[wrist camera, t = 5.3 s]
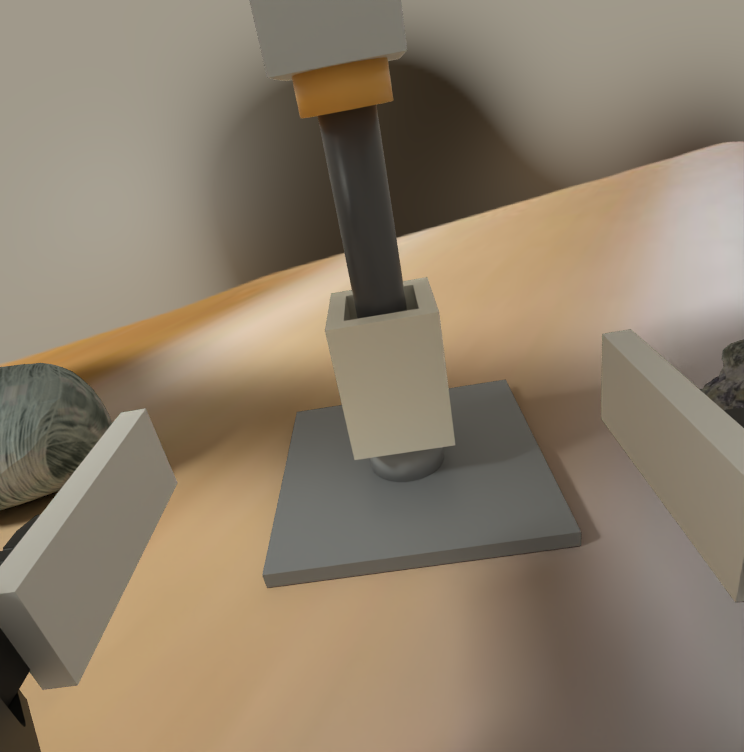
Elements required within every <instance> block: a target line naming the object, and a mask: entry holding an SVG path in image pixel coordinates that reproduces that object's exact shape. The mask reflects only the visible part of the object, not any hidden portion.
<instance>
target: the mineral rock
mask: <svg viewBox="0 0 744 752" xmlns="http://www.w3.org/2000/svg"><path fill="white" fill-rule="evenodd" d="M722 360H723V366H724V367H723V369H722V371H721V373H720V375H719V376H718V377H716V378H715V379H713V380H712V381H711V382H709V383H707V384H705V386H704V388H703V389H700V390H701V391H702V392H703V393H704V394H705V395H706V396H708V397H709V398H710V399H711V400H712V401H713V402H714V403H716V404H717V405H718V406H719V407H720V408H721V409H722V410H727V409H734V408H741V407H742V408H744V340H740V341H737V342H734V343H731V344H730V345H728V346H727V347H726V348H725V349H724V350H723V353H722Z"/></svg>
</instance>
